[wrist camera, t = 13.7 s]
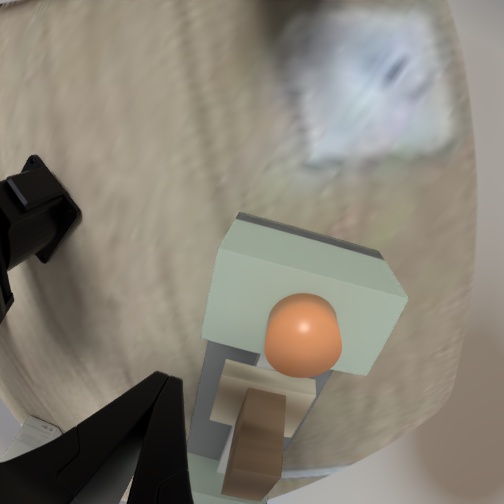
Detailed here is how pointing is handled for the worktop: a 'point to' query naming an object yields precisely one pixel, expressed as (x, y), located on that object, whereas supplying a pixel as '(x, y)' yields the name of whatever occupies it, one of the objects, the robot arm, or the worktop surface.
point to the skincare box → (31, 437)
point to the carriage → (258, 424)
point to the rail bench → (257, 312)
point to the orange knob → (302, 336)
